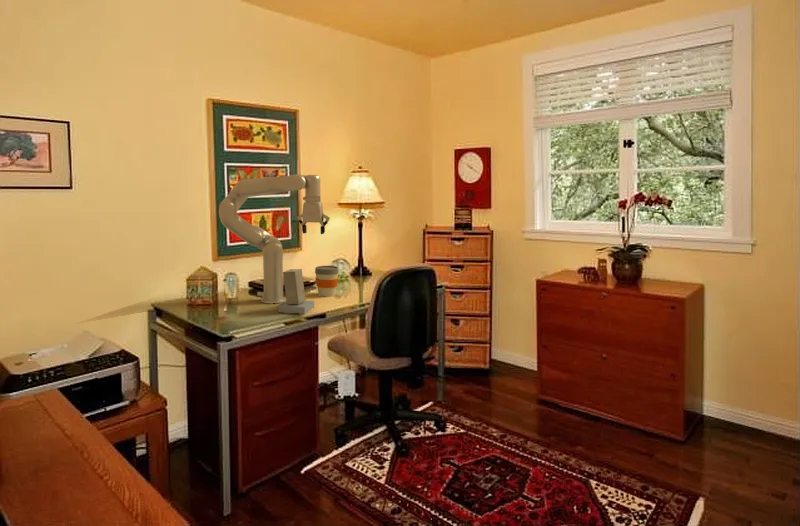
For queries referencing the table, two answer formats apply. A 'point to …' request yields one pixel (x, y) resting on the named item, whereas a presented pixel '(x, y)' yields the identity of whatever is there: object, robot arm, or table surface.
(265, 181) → the robot arm
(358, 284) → the table surface
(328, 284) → the reusable coffee cup
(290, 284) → the skincare box
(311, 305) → the slate block
